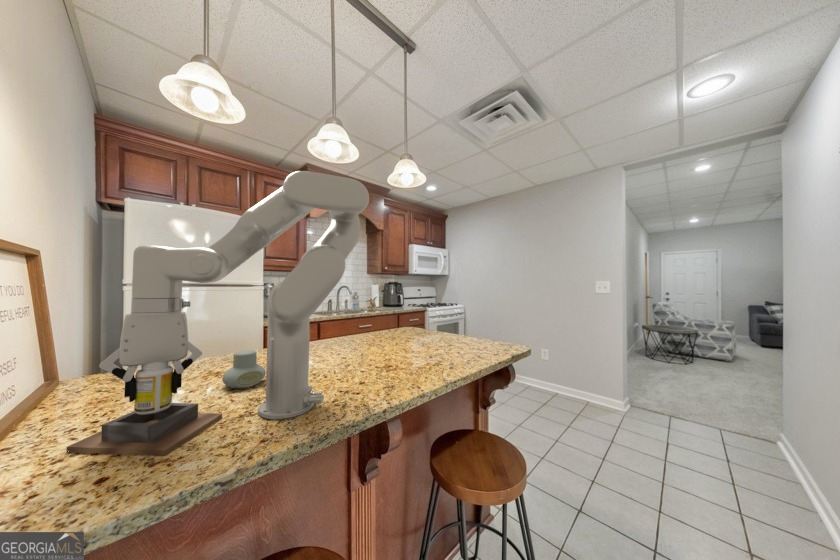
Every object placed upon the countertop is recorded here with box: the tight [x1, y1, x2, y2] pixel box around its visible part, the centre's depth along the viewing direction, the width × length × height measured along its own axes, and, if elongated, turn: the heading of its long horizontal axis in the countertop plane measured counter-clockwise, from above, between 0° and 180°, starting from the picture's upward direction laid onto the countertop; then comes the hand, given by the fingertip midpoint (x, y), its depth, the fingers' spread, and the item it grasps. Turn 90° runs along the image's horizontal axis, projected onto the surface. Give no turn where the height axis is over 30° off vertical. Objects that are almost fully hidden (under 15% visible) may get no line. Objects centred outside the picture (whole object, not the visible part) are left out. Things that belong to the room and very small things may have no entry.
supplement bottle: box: [133, 362, 174, 415], centre depth 57 cm, size 6×6×10 cm
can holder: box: [66, 402, 223, 457], centre depth 57 cm, size 18×14×4 cm
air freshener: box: [222, 349, 266, 390], centre depth 84 cm, size 11×8×10 cm
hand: (154, 394), depth 57 cm, fingers closed on supplement bottle, 5 cm apart
